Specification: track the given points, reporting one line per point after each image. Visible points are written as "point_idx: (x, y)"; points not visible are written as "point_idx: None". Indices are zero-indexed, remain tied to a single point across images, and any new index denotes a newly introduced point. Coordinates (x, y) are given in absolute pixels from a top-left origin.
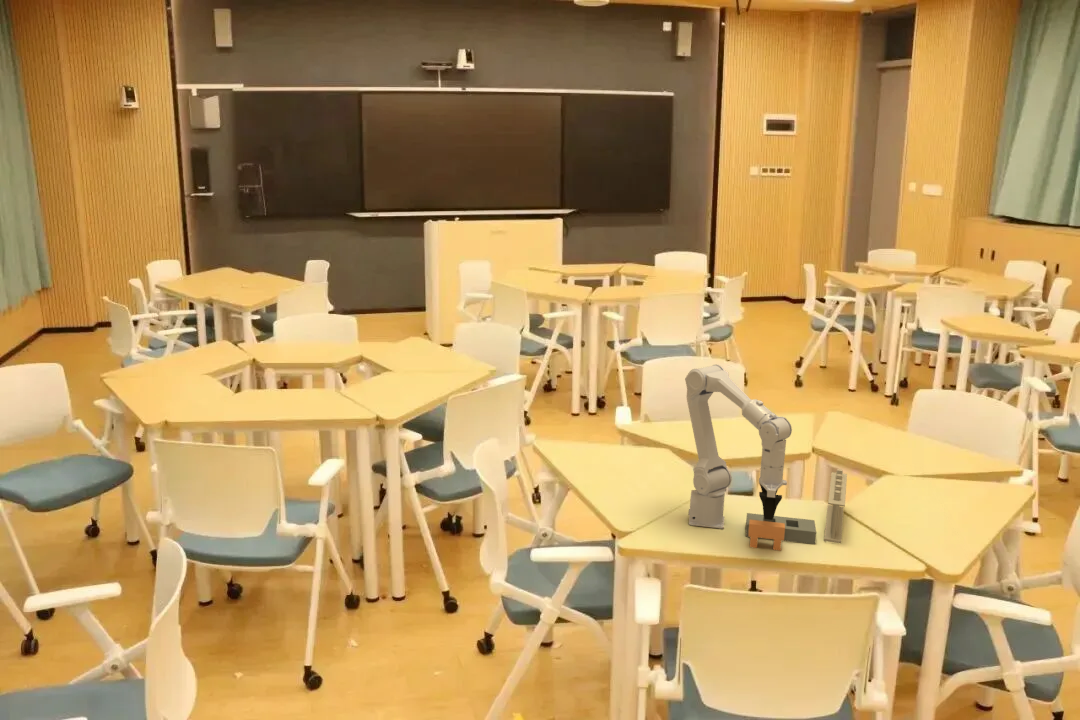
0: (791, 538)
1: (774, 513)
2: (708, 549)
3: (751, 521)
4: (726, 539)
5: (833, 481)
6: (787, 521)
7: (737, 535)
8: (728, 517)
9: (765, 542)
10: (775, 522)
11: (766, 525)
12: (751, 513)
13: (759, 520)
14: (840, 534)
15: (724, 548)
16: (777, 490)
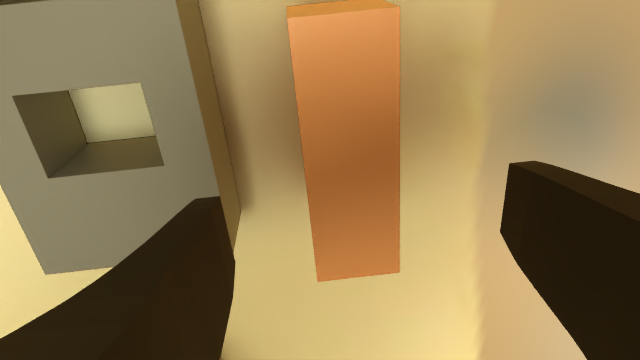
0: None
1: (599, 182)
2: (442, 321)
3: (348, 266)
4: (314, 279)
5: None
6: None
7: (245, 245)
8: (42, 308)
9: (272, 107)
10: (300, 103)
11: (391, 166)
12: (35, 251)
13: (123, 195)
14: None
15: (415, 272)
16: (125, 334)
